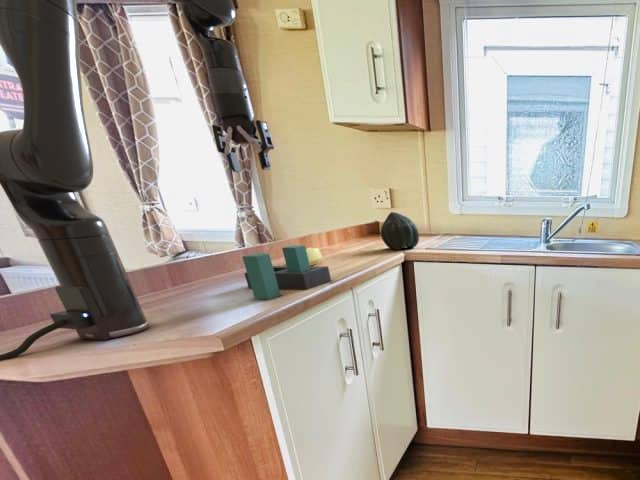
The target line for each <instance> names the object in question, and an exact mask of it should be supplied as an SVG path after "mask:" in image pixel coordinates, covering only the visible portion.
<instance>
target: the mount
mask: <svg viewBox="0 0 640 480" xmlns="http://www.w3.org/2000/svg"><path fill="white" fill-rule="evenodd" d="M272 266H273V269H274V273H275V277H276V280H277V284H278V287H279V290H309V289H312V288H315V287H317V286H321V285H323V284H327V283H330V282H332V278H331V273H330V268H329V266H325V265H324V266H318V265H317V266H316V265H315V266H313V265H311V266H310V270H306V271H303V272H288V269H287V266H280V265H272ZM243 274H244V277H245V281H246V284H247V288H248V289H252V287H251V284H250V281H249V277H248V274H247V272H244V273H243Z"/></svg>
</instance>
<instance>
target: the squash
mask: <svg viewBox="0 0 640 480" xmlns="http://www.w3.org/2000/svg"><path fill="white" fill-rule="evenodd" d="M380 237H381V239H382V242H383V243H384V244H385V246H386V247H387V248H389V249H390V250H401V249H403V248H408V249H413V248H415V247H416V246H417V245H418V243H419V241H420V234H419V230H418V227H417V226H416V223H414V222H413V220H412V219H410V218H409V217H408V216H406V215H403V214H401V213H398V212H395V211H391V212H390V213H388V215H387V217H386V218H385V220H384V222H383V223H382V225H381V228H380Z"/></svg>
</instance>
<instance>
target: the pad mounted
mask: <svg viewBox="0 0 640 480" xmlns="http://www.w3.org/2000/svg"><path fill="white" fill-rule="evenodd" d="M281 249H282V253H283V258H284V261H285V264H286V265H287V269H288V272H303V271H306V270H310V264H309V260H308V256H307V252H306V249H307V248H306V245H289V246H284V247H281Z"/></svg>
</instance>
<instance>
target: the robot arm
mask: <svg viewBox="0 0 640 480" xmlns="http://www.w3.org/2000/svg"><path fill="white" fill-rule="evenodd" d="M169 1H170V2H172V3H173V4H179V5H180V9H181V12H182V14H183V16H184V18H185V20H186V22H187V24H188V26H189V28H190V30H191V32H192V34H193V36H194V38H195V40H196V42H197V43H198V45H199V47H200V49H201V51H202V56H203V59H204V63H205V66H206V71H207V75H208V81H209V86H210V89H211V92H212V96H213V100H214V104H215V107H216V110H217V115H218V116H219V117H220V119H221V120H222V125H218V124H212V125H211V128H212V133H213V137H214V141H215V146H216V150H217V152H218V153H221V154H224V155H226V158H227V162H228V164H229V167H230V169H231V170H232V172H233V173H241V172H242V167H241V164H240V161H239V157H238V155H237V153H238V150H239V148H240V147H241V145H246V144H250V145H251V146H253V147H254V148H255V150H256V151H257V156H258V160H259V164H260V167H261V170H262V171H263V170H264V171H270V170H271V161H270V157H269V152H270V151H271V150H274V149H275V145H274V142H273V139H272V135H271V132H270V128H269V125H268V122H267V121H264V120H260V119H257V120H254V119H255V112H254V108H253V105H252V100H251V97H250V93H249V89H248V84H247V82H246V79H245V77H244V73H243V70H242V66H241V62H240V59H239V55H238V51H237V48H236V46H235V45H234V44H233V43H232V41H229V40H227V39H225V38H220V37H219V36H218V35H217V33H216V31H215V29H218V28H222V27H227V26H228V27H229V26H231V25H232V24H233V23H234V22H235V20H236V17H237V15H236V14H237V12H236V8H235V5H234V2H233V1H232V0H169ZM79 28H80V27H79V17H78V8H77V0H0V47H1V49H2V50H3V52H4V54H5V56H6V58H7V60H8V62H9V63H10V64H11V66H12V67H13V69H14V71H15V73H16V75H17V77H18V79H19V83H20V86H21V90H22V91H21V92H22V98H23V99H22V101H23V123H22V128H19V129H10V130H9V129H8V130H3V131H0V186H1V188H2V189H3V192H4V193H5V195H6V197H7V199H8V200H9V202H10V204H11V205H12V207H13V209H14V212H16V214H17V216H18V217H19V219H20V220H21V221H22V222H23V223H24V224H25V225H26V226H27V227H29V229H30V230H31V231H32V233H33V234H34V236H35V238H36V239H37V242H38V244H39V246H40V248H41V250H42V252H43V254H44V256H45V258H46V260H47V262H48V264H49V266H50V268H51V270H52V272H53V274H54V276H55V278H56V280H57V282H58V284H59V285H56V286H55V287H54V290H55V292H56V294H57V296H58V298H59V300H60V302H61V304H62V306H63V308H64V310H61V311H58V312H53V313H50V314H49V316H50V317H51V319H52V322H53V323H51V324H49V325H47V326H44V327H42V328H39V330H37V331H35V332H33V333H31V334H30V335H29V336H28V337H27V338H25V339H24V341H22V343H21V344H20V345H19V346H17V348H15V349H12V350H10V351H8V352H5V353H1V354H0V362H1V361H6V360H9V359H13V358H16V357H17V356H20V355H22V354H23V353H26V351H27V350H29V349H30V348H31V346H32V345H33V344H34V343H35V342H36V341H38V340H39V339H40V338H42V337H44V336H45V335H48V334H49V333H52V332H53V331H55V330H59V329H62V330H63V329H66V330H75V331H76V334H77V335H78V338H79V339H81V340H94V341H95V340H97V341H98V340H99V341H106V340H110V339H114V338H119V337H125V336H128V335H133V334H137V333H139V332H142V331H144V330H146V329H148V328H149V327H150V324H149V320H148V319H147V318H146V316H145V313H144V310H143V308H142V306H141V303H140V302H139V299H138V297H137V294H136V291H135V290H134V287H133V285H132V283H131V280H130V279H129V276H128V274H127V271H126V269H125V266H124V264H123V262H122V259H121V257H120V255H119V252H118V249H117V247H116V245H115V242H114V240H113V238H112V235H111V234H110V231H109V228H108V226H107V224H106V222H105V221H104V219H103V218H101V217H100V216H98V215H96V214H94V213H92V212H90V211H88V210H87V209H86V208H84V206H83V205H81V203H80V201H79V200H78V197H77V196H76V194H75V193H79V192H82V191H84V190H86V189H87V188H88V187H89V186H90V185H91V183H92V181H93V179H94V161H93V153H92V150H91V149H92V148H91V143H90V140H89V134H88V129H87V124H86V118H85V117H86V116H85V110H84V101H83V86H82V73H81V46H80V29H79ZM257 132H258V134H257Z"/></svg>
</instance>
